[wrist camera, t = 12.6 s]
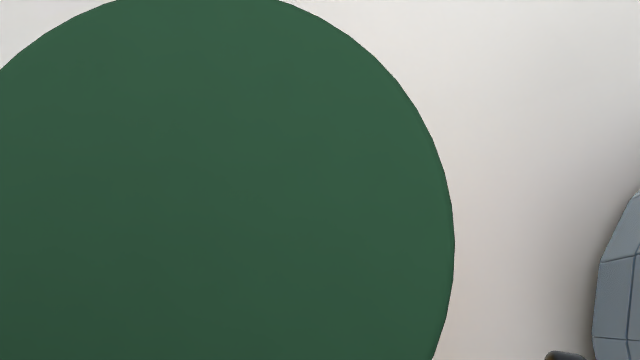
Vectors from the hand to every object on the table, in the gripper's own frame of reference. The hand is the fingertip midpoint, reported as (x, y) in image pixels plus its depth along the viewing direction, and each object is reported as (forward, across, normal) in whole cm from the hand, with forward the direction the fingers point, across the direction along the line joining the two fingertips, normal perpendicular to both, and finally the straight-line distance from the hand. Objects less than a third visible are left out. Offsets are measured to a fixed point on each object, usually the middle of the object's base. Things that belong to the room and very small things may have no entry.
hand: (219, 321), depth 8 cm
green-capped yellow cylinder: (+7, 0, +5) cm, 9 cm away
